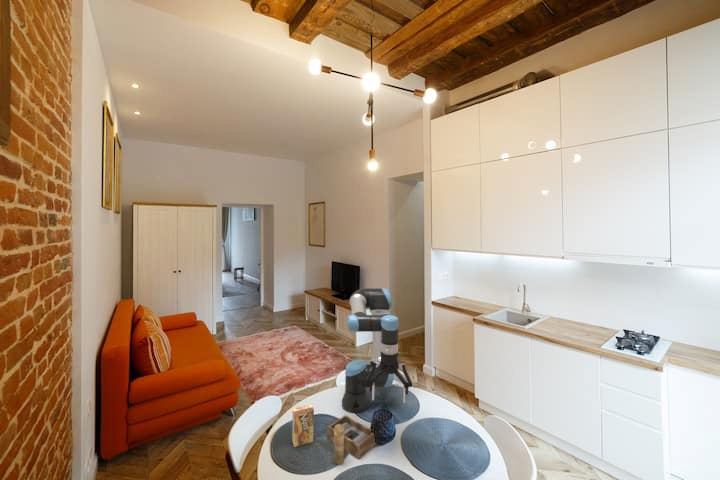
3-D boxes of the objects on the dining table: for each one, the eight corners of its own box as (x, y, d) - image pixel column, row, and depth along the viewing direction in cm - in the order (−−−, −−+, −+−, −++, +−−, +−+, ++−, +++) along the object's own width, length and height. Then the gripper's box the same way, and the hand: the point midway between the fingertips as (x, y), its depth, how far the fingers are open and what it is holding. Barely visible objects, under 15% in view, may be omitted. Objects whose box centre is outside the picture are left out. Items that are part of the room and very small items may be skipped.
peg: (331, 461, 123) (332, 427, 123) (338, 455, 126) (339, 423, 126) (338, 466, 120) (339, 431, 120) (345, 460, 123) (346, 427, 123)
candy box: (310, 436, 138) (311, 403, 138) (313, 442, 134) (314, 408, 134) (291, 441, 134) (292, 408, 134) (294, 448, 130) (294, 413, 130)
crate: (327, 438, 137) (327, 426, 136) (345, 426, 146) (345, 415, 146) (358, 459, 124) (358, 446, 124) (375, 444, 133) (376, 432, 133)
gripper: (360, 353, 128) (359, 402, 128) (418, 357, 125) (417, 407, 125) (362, 346, 136) (361, 393, 136) (417, 350, 132) (416, 397, 132)
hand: (388, 400), depth 130 cm, fingers open, 13 cm apart
